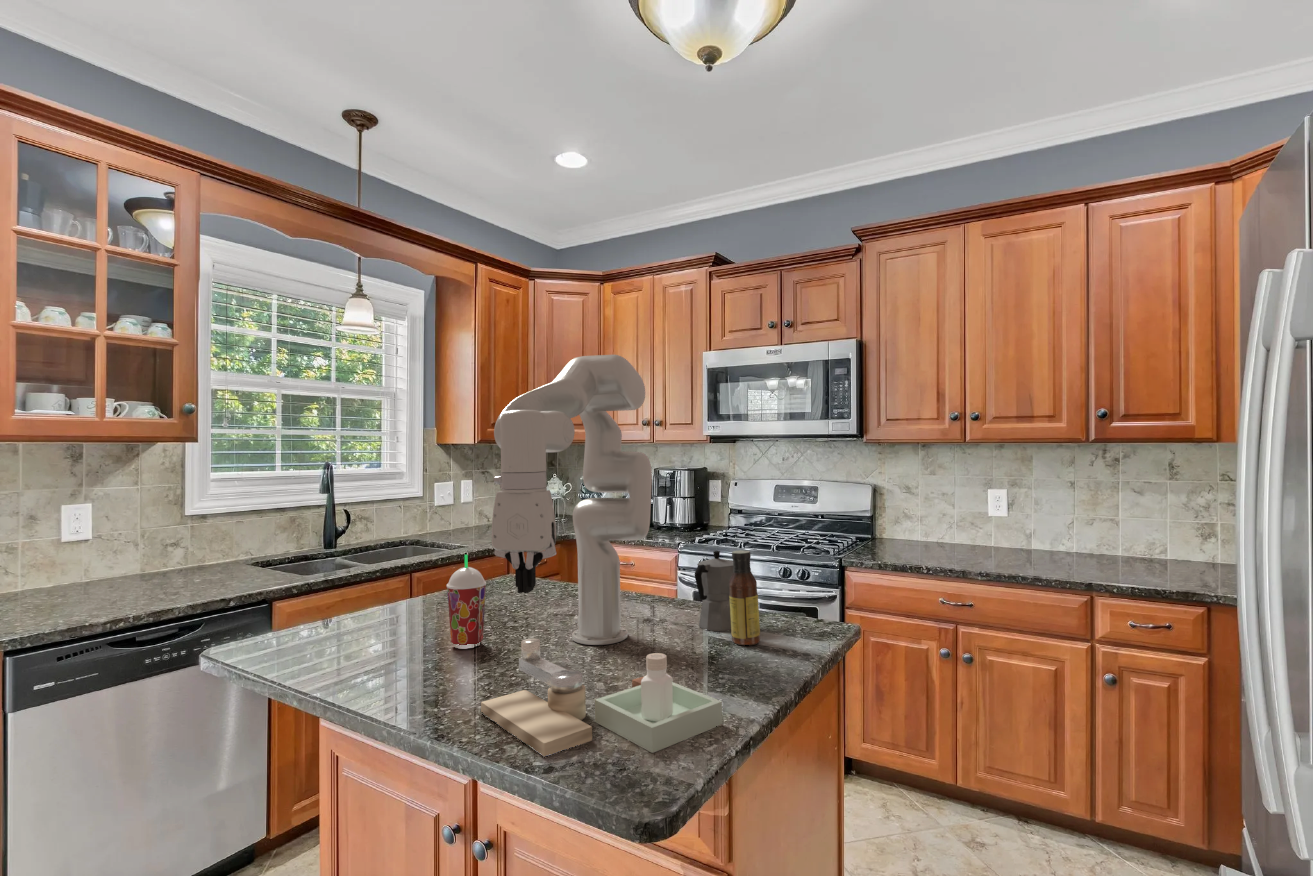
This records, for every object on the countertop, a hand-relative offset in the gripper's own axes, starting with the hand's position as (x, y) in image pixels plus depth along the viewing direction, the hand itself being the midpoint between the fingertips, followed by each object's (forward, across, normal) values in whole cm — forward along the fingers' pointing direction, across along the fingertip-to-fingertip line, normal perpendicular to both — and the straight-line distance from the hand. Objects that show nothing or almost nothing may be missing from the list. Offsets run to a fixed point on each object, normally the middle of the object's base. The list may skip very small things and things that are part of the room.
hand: (525, 591), depth 110 cm
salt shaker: (+18, +23, -4) cm, 30 cm away
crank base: (+19, +10, -1) cm, 22 cm away
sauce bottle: (+19, +34, +40) cm, 56 cm away
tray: (+19, +23, -4) cm, 30 cm away
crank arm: (+14, +4, -1) cm, 15 cm away
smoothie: (+19, -26, +28) cm, 43 cm away
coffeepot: (+19, +26, +51) cm, 60 cm away
